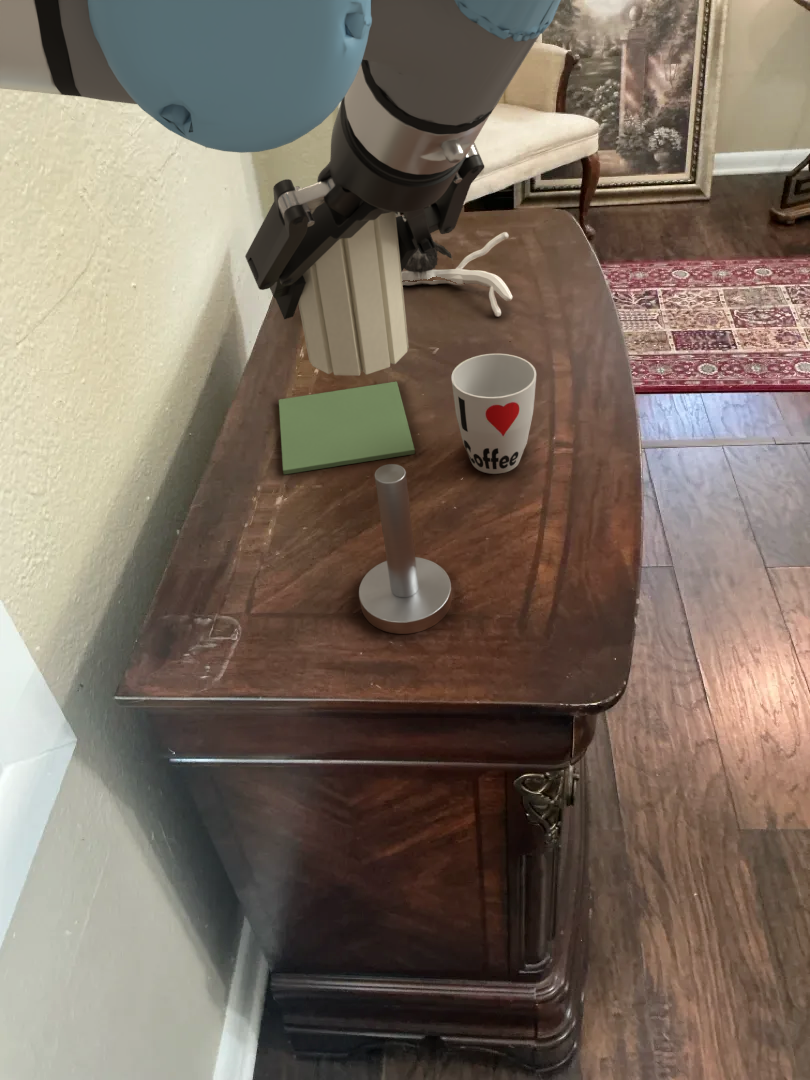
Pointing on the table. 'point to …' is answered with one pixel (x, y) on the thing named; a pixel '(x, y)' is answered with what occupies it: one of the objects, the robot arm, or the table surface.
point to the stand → (402, 567)
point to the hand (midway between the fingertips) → (333, 286)
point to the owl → (456, 271)
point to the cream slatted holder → (356, 303)
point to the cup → (494, 409)
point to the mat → (343, 428)
